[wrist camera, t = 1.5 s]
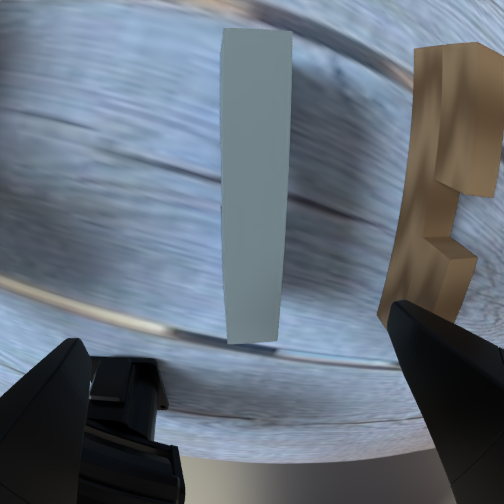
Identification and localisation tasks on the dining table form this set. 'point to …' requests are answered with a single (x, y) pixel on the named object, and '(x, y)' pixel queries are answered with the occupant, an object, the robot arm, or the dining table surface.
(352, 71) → the dining table surface
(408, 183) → the walnut slotted plate
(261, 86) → the slate-blue slotted crosspiece
